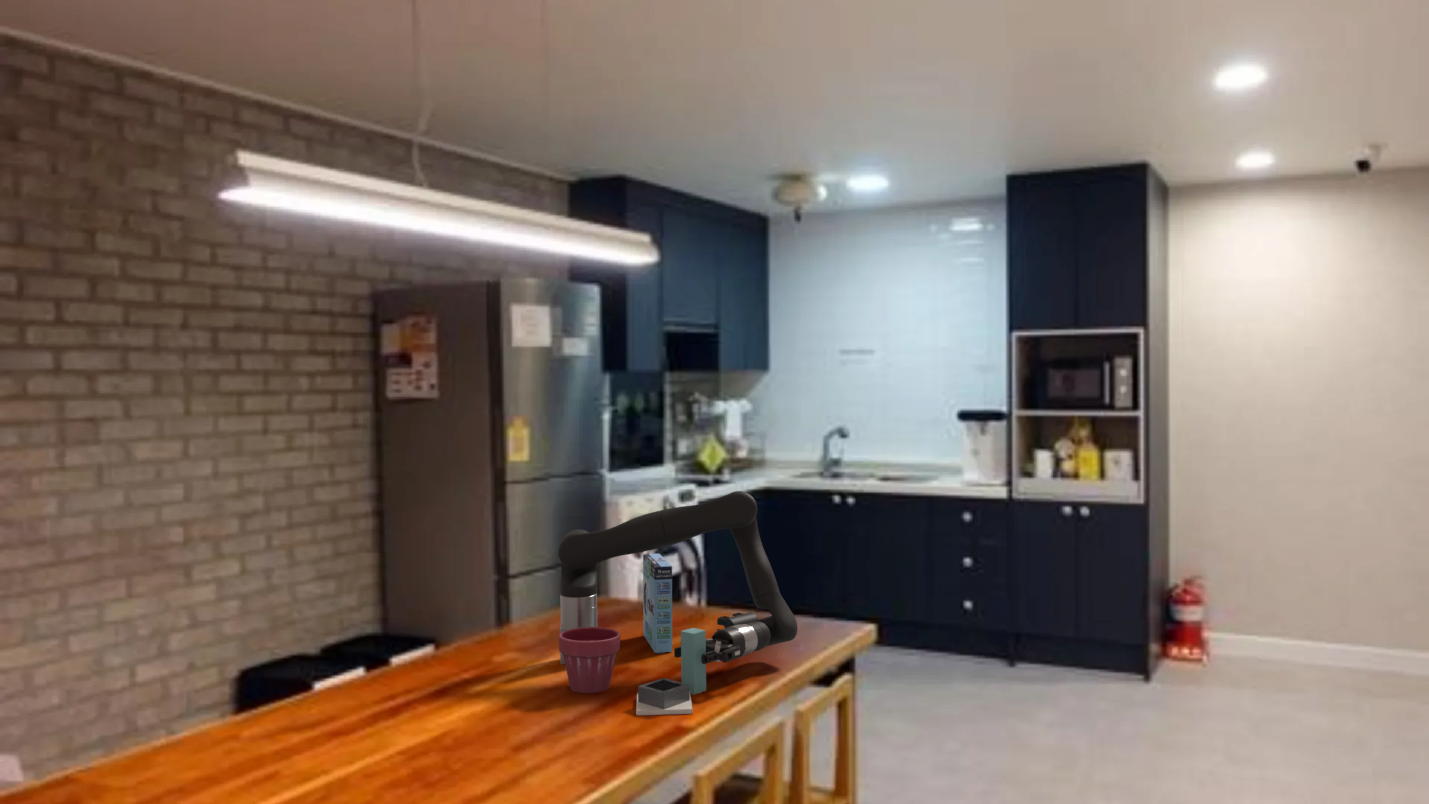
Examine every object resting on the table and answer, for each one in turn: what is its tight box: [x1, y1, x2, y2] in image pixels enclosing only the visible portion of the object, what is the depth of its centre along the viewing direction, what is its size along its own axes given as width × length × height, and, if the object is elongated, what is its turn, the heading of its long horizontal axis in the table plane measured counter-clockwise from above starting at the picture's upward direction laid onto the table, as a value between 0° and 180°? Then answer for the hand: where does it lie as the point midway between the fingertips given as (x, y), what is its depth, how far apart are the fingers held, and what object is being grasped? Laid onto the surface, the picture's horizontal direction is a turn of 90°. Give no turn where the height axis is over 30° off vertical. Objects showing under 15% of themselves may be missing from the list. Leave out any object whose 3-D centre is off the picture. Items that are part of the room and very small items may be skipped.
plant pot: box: [558, 626, 621, 694], centre depth 249 cm, size 14×14×13 cm
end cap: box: [716, 611, 759, 631], centre depth 292 cm, size 10×7×7 cm
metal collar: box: [637, 677, 691, 709], centre depth 235 cm, size 8×8×4 cm
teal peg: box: [680, 627, 707, 696], centre depth 246 cm, size 4×4×14 cm
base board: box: [635, 693, 693, 716], centre depth 235 cm, size 12×12×1 cm
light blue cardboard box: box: [642, 553, 673, 654], centre depth 288 cm, size 20×5×23 cm, turn 13°
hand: (688, 656), depth 244 cm, fingers open, 8 cm apart
